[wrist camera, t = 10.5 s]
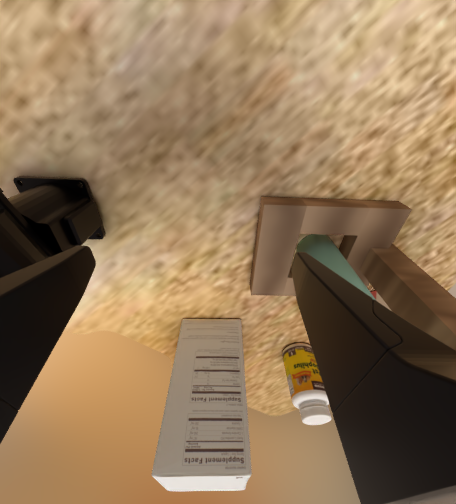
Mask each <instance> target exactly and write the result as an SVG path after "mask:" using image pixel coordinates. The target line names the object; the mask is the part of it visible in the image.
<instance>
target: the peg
mask: <svg viewBox="0 0 456 504" xmlns="http://www.w3.org/2000/svg"><path fill="white" fill-rule="evenodd" d="M297 252H306V253H307V254H309V255H310V256H312V257H313V258H315V259H316V260H318V261H319V262H321V263H322V264H324V265H325V266H326V267H328V268H329V269H331V270H332V271H334V272H335V273H337V274H338V275H340V276H341V277H342V278H344V279H345V280H347V281H348V282H350V283H351V284H353V285H354V286H356V287H357V288H358V289H360V290H361V291H363V292H364V293H366V294H367V295H369V296H370V297H372V298H373V299H374V300H376V299H375V298H374V297H373V295H372V294H371V293H370V291H369V290H368V289H367V287H366V286H365V285H364V283H363V282H362V280H361V279H360V278H359V276H358V275H357V274H356V272H355V271H354V270H353V268H352V267H351V266H350V264H349V263H348V262H347V260H346V259H345V258H344V256H343V255H342V254H341V252H340V251H339V250H338V248H337V247H336V246H335V244H334V243H333V242H332V240H331V239H330V238H329V237H328V236H327V235H322V234H311V235H308V236H307V237H305V238H304V239H302V240H301V241H300V243H299V244H298V247H297Z"/></svg>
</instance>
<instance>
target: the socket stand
mask: <svg viewBox="0 0 456 504" xmlns="http://www.w3.org/2000/svg"><path fill="white" fill-rule="evenodd" d="M411 210H412V209H410V208H409V207H407V206H405V205H404V204H402V203H400V202H399V201H376V200H347V199H317V198H288V197H261V203H260V211H259V218H258V226H257V233H256V241H255V248H254V256H253V263H252V271H251V279H250V289H251V295H278V296H296V293H295V288H294V282H293V277H292V271H291V264H292V260H293V256H294V253H295V249H296V245H297V242H298V238H299V234H322V235H345V236H344V239H343V241H342V243H341V246H340V248H339V251H340V252H341V254H342V255H343V256H344V258H345V259H346V260H347V262H348V263H349V264H350V266H351V267H352V268H353V270H354V271H355V272H356V274H357V275H358V276H359V278H360V279H361V280H362V282H363V283H364V285H365V286H366V287H367V286H368V285H369V283H370V284H371V285H372V286H373V287H374V289H375V290H376V291H377V293H378V294H379V295H380V296H381V298H382V299H383V300H384V301H385V303H386V304H387V305H388V307H389V308H390V309H391V310H392V312H394V313H395V314H397V315H398V316H400V317H402V318H403V319H405V320H406V321H408V322H410V323H411V324H413V325H415V326H416V327H418V328H419V329H421V330H423V331H424V332H426V333H428V334H429V335H431V336H433V337H434V338H436V339H438V340H439V341H441V342H443V343H444V344H446V345H448V346H449V347H451V348H453V349H454V350H456V298H455V297H453V296H452V295H451V294H450V293H449V292H448V291H446V290H445V289H444V288H443V287H442V286H441V285H439V284H438V283H437V282H436V281H435V280H434V279H433V278H431V277H430V276H429V275H428V274H427V273H426V272H424V271H423V270H422V269H421V268H420V267H419V266H418V265H416V264H415V263H414V262H413V261H412V260H411V259H409V258H408V257H407V256H406V255H405V254H404V253H403V252H401V251H400V250H399V249H398V248H397V247H396V246H394V245H393V244H392V243H393V241H394V240H395V238H396V236H397V235H398V233H399V231H400V229H401V228H402V226H403V224H404V222H405V221H406V219H407V217H408V216H409V214H410V212H411Z"/></svg>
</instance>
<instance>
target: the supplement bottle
mask: <svg viewBox="0 0 456 504" xmlns="http://www.w3.org/2000/svg"><path fill="white" fill-rule="evenodd" d="M282 356H283V361H284V366H285V370H286V375H287V380H288V385H289V389H290V394H291V399H292V403H293V405H294V406H295V407H297V408H298V409H299V410H300V414H301V418H302V422H303V423H305V424H308V425H320V424H324V423H327V422H329V421H330V420H331V416H330V413H329V409H328V406H327V405H328V404H329V401H328V398H327V395H326V391H325V388H324V385H323V382H322V379H321V376H320V372H319V369H318V366H317V363H316V360H315V357H314V353H313V350H312V347H311V346H310V345H308V344H304V343H296V344H292V345H289V346H288V347H286V348H285V349H284V351H283V353H282Z"/></svg>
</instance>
